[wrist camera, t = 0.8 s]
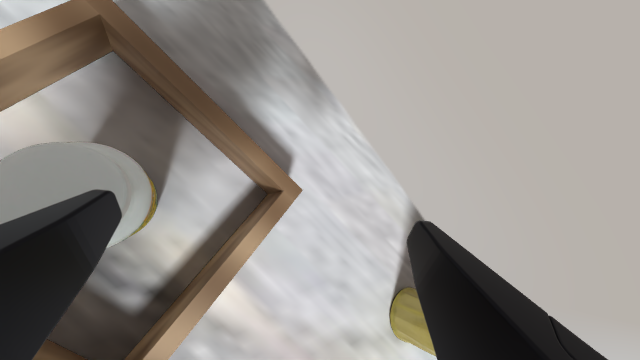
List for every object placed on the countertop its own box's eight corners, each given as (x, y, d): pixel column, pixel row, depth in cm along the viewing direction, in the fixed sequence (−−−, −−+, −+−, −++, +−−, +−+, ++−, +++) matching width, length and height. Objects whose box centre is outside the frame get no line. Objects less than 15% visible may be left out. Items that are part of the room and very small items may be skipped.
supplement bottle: (100, 149, 17) (38, 93, 9) (174, 190, 19) (175, 173, 11) (36, 217, 16) (-115, 221, 7) (125, 254, 18) (84, 289, 9)
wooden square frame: (112, 399, 16) (97, 448, 13) (-272, 221, 11) (-478, 224, 7) (284, 193, 24) (302, 190, 21) (112, 29, 19) (99, -12, 15)
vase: (388, 290, 30) (539, 343, 17) (421, 283, 33) (570, 325, 20) (389, 345, 29) (550, 443, 16) (424, 333, 32) (580, 408, 20)
